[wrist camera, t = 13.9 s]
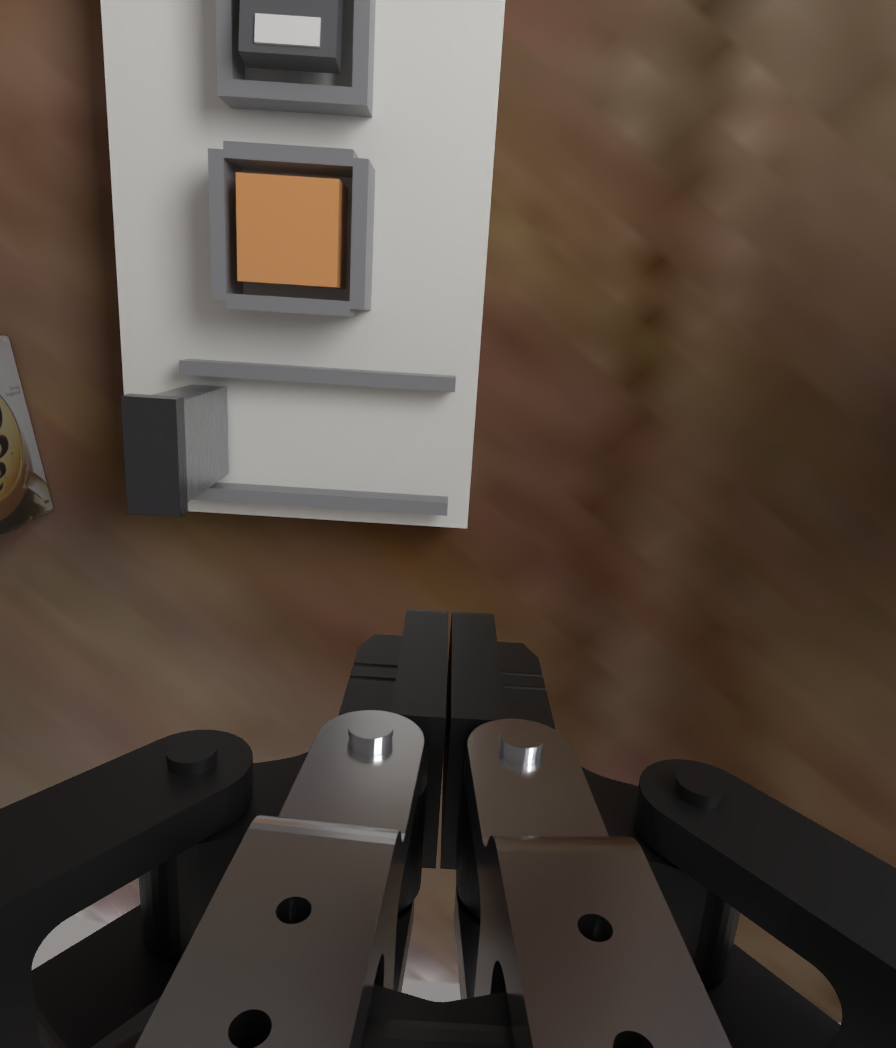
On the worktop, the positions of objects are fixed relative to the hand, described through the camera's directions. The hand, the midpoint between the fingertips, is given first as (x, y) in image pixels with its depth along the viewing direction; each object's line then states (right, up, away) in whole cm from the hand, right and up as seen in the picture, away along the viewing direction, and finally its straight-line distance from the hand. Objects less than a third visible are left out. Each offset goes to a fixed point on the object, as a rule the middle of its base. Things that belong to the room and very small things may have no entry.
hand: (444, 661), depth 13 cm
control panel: (-6, +15, +22) cm, 27 cm away
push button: (-6, +15, +19) cm, 24 cm away
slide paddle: (-11, +7, +21) cm, 24 cm away
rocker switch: (-6, +22, +15) cm, 28 cm away
